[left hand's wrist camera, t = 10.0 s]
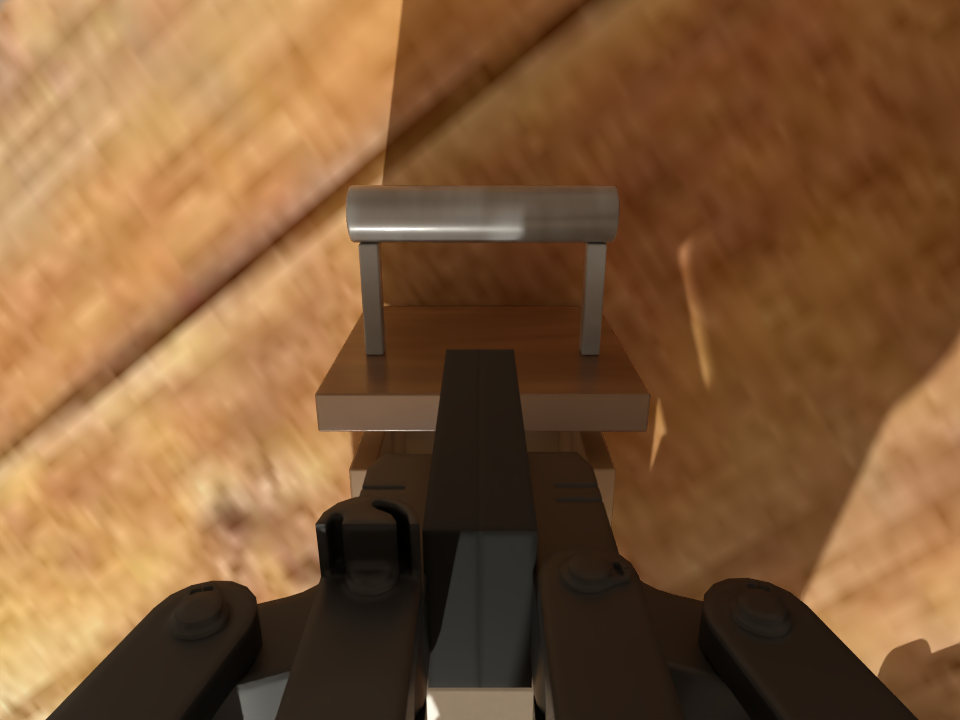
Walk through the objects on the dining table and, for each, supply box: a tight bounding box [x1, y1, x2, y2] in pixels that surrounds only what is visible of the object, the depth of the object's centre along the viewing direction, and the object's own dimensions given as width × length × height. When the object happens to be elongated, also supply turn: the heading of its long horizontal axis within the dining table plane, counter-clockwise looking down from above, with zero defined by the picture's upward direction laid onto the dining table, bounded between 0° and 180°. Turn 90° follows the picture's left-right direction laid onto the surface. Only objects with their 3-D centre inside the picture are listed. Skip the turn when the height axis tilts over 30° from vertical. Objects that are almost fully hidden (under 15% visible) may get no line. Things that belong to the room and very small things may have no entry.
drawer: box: [315, 185, 650, 526], centre depth 25 cm, size 23×10×9 cm, turn 0°
